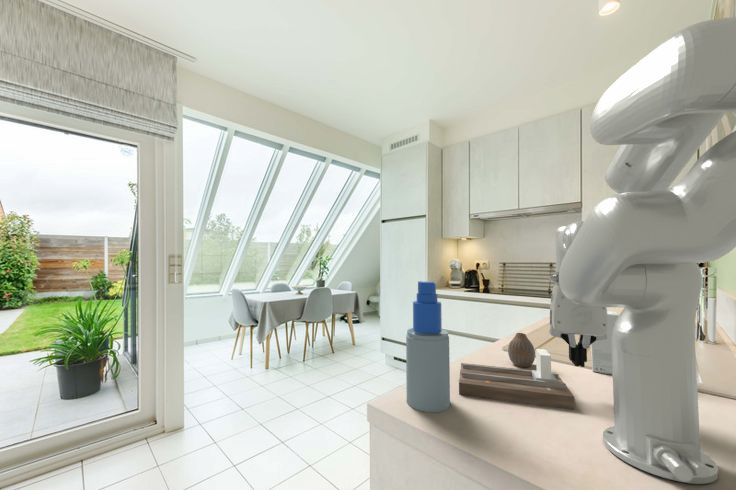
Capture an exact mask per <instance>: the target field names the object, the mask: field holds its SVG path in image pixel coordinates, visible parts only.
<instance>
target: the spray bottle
mask: <svg viewBox="0 0 736 490" xmlns="http://www.w3.org/2000/svg"><path fill="white" fill-rule="evenodd" d="M442 319H443V318H442V302H441V301H439V300H438V293H437V284H436V281H422V280H421V281H420V280H419V281H417V293H416V300H414V301H412V328H408V329H407V331H406V335H405V338H406V339H405V341H406V342H405V347H406V349H405V352H406V354H405V355H406V359H405V360H406V361H405V362H406V363H405V364H406V367H405V368H406V379H405V380H406V403H407V405H408V406H409V407H411V408H412V409H414V410H417V411H420V412H425V413H439V412H444V411H446V410H447V409H449V408H450V405H451V393H450V392H451V380H450V377H451V376H450V372H451V371H450V370H451V369H450V336H449V332H448V331H447V330H446V329H443V328H442V326H443V325H442V324H443V322H442Z"/></svg>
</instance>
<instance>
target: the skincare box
mask: <svg viewBox="0 0 736 490" xmlns="http://www.w3.org/2000/svg"><path fill="white" fill-rule="evenodd" d="M607 315H608V328H609V329H608V333H607V339H606V340H599V341H595V342H593V343H592V344H591V345H590V356H591V359H590V360H591V369H592V370H591V371H592V372H595V373H600V374H605V375H610V376H611V375H612V350H611V333H612V328H613V325H614V323H615V321H616V319H617V318H618V316H619V313H618V312H617V311H612V310H611V311H610V310H609V311H608V310H607ZM612 376H613V375H612Z"/></svg>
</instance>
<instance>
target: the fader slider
mask: <svg viewBox="0 0 736 490" xmlns="http://www.w3.org/2000/svg"><path fill="white" fill-rule="evenodd" d="M535 358H536V359H535V361H536V367H535V368H536V369H535V370H534V369H533V370H532V369H531V370H532V376H533V378H534V380H540V381H549V382H557V380H556V378H555V377H554V375H553V374H552V373H551V372H552V360H551V359H552V356H551V354H550V353H549V352H548V350H547V349H542V348H536V349H535Z"/></svg>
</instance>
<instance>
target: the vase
mask: <svg viewBox="0 0 736 490" xmlns="http://www.w3.org/2000/svg"><path fill="white" fill-rule="evenodd" d="M507 352H508V353H507V355H508V358H509V360H510V362H511V363H512V364H513V365H514V366H516V367H520V368H530V367H531V366H532V365H533V364H534V362H535V361H536V359H535V358H536V349H535V346H534V344H533V343H532V342H531V340H530V339H529V338H528V336H527V334H526V333H524V332H517V333H515V335H514V337H513V338H512V339H511V341H510V342H509V344H508V347H507Z"/></svg>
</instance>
